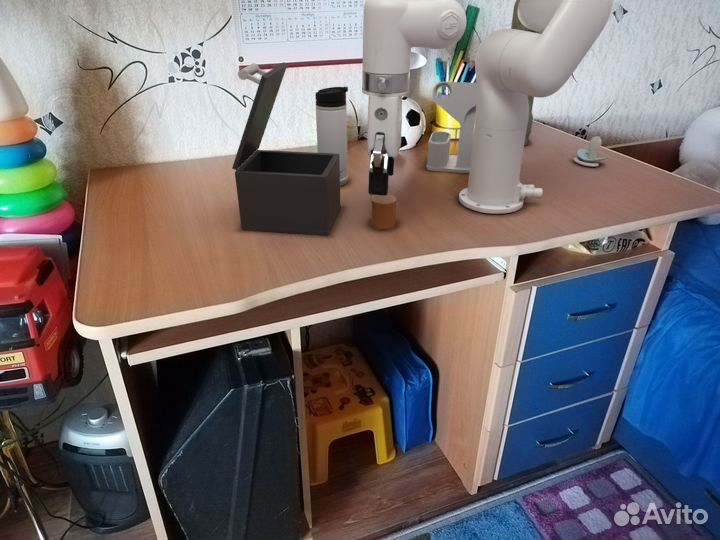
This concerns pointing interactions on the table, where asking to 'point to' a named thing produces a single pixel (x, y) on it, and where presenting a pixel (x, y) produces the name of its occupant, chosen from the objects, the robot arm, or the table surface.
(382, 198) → the orange cylinder
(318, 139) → the travel mug
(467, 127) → the gray holder stand
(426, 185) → the table surface
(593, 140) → the pacifier
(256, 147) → the lid
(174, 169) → the table surface
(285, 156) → the dark storage box
